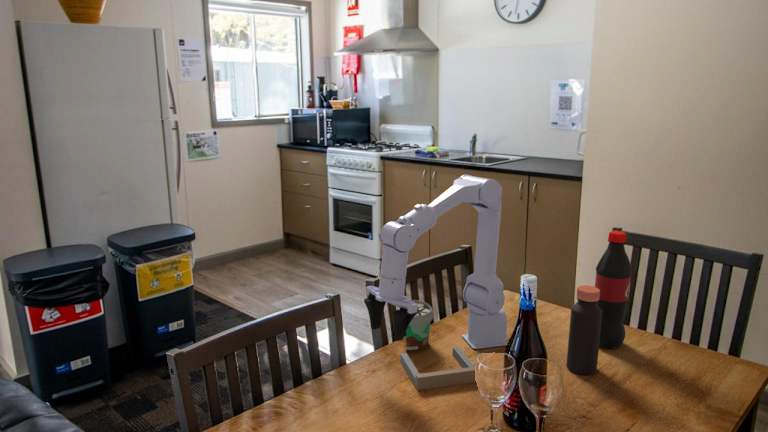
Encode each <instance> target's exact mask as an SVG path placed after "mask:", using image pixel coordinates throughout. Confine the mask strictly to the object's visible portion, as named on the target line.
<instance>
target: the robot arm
mask: <svg viewBox="0 0 768 432" xmlns="http://www.w3.org/2000/svg"><path fill="white" fill-rule="evenodd" d="M502 196H503V186H502V185H500V183H499V182H498V181H497V180H495V178H485V177H480V176H474V175H470V174H462V175H460V176H459V177H458V178H456V179H454V180H453V183H452V185H451V186H450V187H449V188H448V189H446V190H445V191H444V192H443V193H441V194H440V195H439V196H438V197H437V198H435V199H434V200H433V201H432V202H430V203H429V204H425V203H421V204H419V203H418V204H417V203H416V204H415V205H414V206H413V209H412V210H411V211H409V212H408V213H406V214H404V215H403V216H402V215H401V216H399V218H398V219H397V220H396V221H388V222H387V223H385V224H384V225H383V226H382V228H381V229H380V232H379V233H378V240H379V243H381V249H380V250H381V251H382V256H381V264H380V272H379V273H380V275H379V284H378V287H377V286H374V285H368V286H366V287H365V295H366V296H368V297H366V298H364V299H363V302H364V304H365V306H366V309H367V311H368V317H369V322H370V328H371V330H373V331H374V330H378V329H380V328H381V325H382V319H383V314H384V309H385V306H386V303H388V304H390V305H391V306H392V305H393V306H394V307H397V308H399V309H396V310H395V309H394V310H392V315H393V319H394V334H393V335H394V341H395V342H399V341H402V340H404V337H405V336H406V330H407V328H408V326H409V324H410V322H411V321H412V319H413V318H414V316H415V315H416V313H417V305H418V304H417V303H414V302H413V300H412V299H410V298H409V297H407V296H406V295H405V289H406V280H407V270H408V261H409V253H410V252H409V251H410V250H412V249H413V248H414V246H415V245H416V242H417V240H418V239H419V237H421V236H422V235H423V234H424V233H426V232H428V231H429V230H430V229H431V228H433V227H435V226H436V224H437V222H438V221H437V220H438V217H440V216H441V215H443V214H445V213H447V212H448V211H450V210H452V209H453V208H455V207H456V206H458V205H460V204H462V203H467V204H470V205H471V206H472V207H473V208H474V209H475V211H477V212H478V218H477V219H478V220H477V230H476V231H477V232H476V243H475V245H476V246H475V257H474V268H473V273H471V274H469V275H468V276H467V277H466V281H465V285H464V288H463V290H462V297H463V298H462V299H463V300H464V302H465V303H466V307H467V308H468V320H467V321H468V322H467V324H468V325H467V333H465V334H462V335H461V337H462V338H463V340H464V341H466V342H467V344H468V345H469V346H470V347H471V348H472V349H473V350H480V349H487V348H495V347H497V348H498V347H503V346H508V343H507V330H508V329H507V327H508V318H507V314H506V311H505V310H504V308H503V307H504V305H505V301H506V300H505V299H506V297H505V293H504V283H503V282H502V280H501V279H500V278H499V276H498V274H497V264H498V262H497V261H498V252H499V241H500V239H499V238H500V229H501V228H500V227H501V220H502V219H501V218H502V210H503V209H502V207H503V206H502V205H503V204H502Z"/></svg>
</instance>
